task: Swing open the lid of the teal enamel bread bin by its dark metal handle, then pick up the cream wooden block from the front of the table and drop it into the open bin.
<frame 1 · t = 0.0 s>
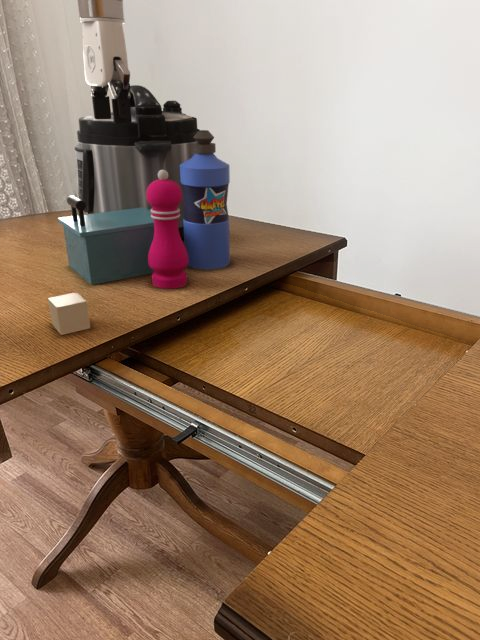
hand: (112, 121, 101), 26 cm above the table, tool pointing down, fingers open, 9 cm apart
block: (71, 326, 82), on the table
bread bin: (121, 267, 107), on the table
pressure cooker: (145, 232, 131), on the table
pepper mill: (169, 284, 100), on the table
water bottle: (207, 263, 111), on the table
bin lid: (113, 208, 101), point 12 cm above the table, hinge at 0.0°
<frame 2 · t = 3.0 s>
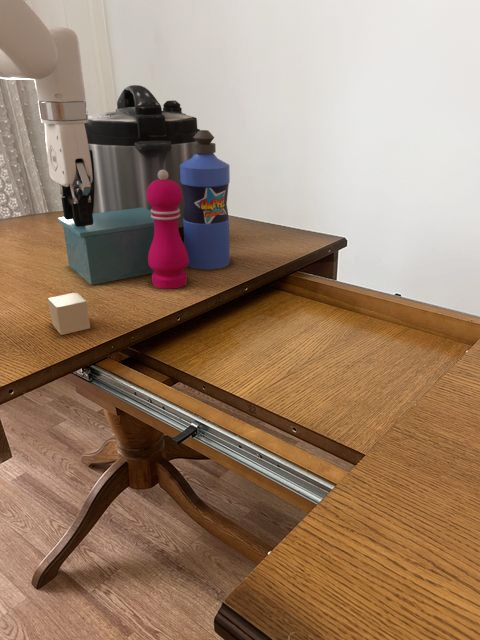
hand: (78, 220, 99), 10 cm above the table, tool pointing down, fingers closed on bin lid, 5 cm apart
bin lid: (113, 208, 101), point 12 cm above the table, hinge at 0.0°, touching gripper
everything else where it was.
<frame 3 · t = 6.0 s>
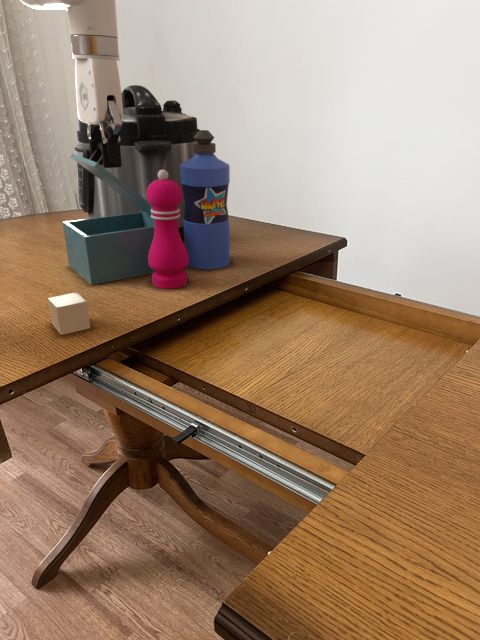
hand: (106, 164, 98), 20 cm above the table, tool pointing down, fingers closed on bin lid, 5 cm apart
bin lid: (128, 178, 101), point 17 cm above the table, hinge at 40.7°, touching gripper
everything else where it was.
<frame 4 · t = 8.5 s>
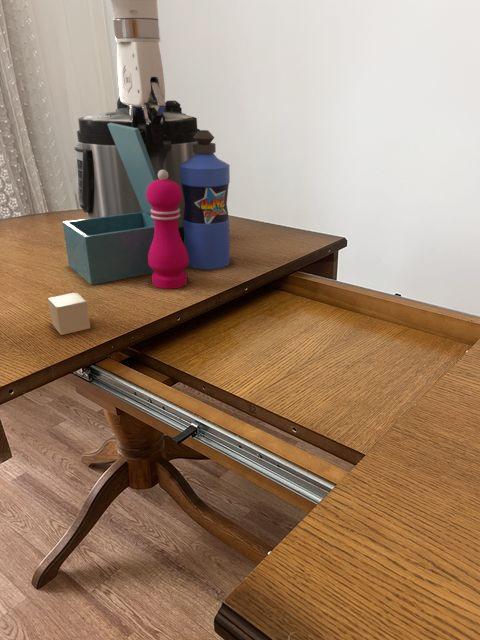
hand: (148, 145, 101), 22 cm above the table, tool pointing down, fingers closed on bin lid, 5 cm apart
bin lid: (150, 168, 103), point 18 cm above the table, hinge at 71.7°, touching gripper
everything else where it was.
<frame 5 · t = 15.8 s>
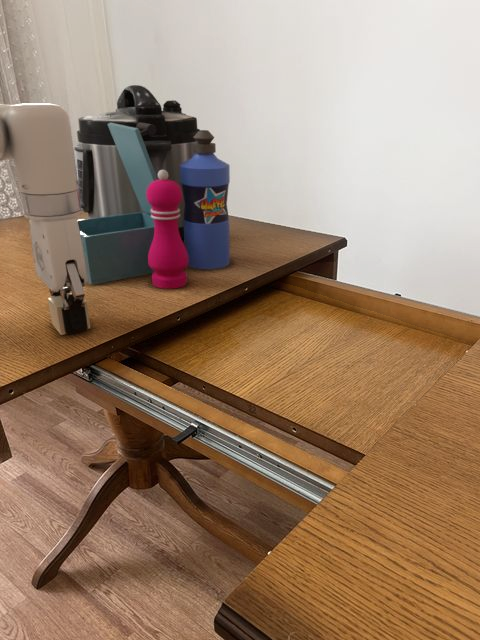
hand: (71, 324, 82), 0 cm above the table, tool pointing down, fingers closed on block, 4 cm apart
block: (71, 326, 82), on the table, touching gripper
bin lid: (150, 168, 103), point 18 cm above the table, hinge at 71.8°
everything else where it was.
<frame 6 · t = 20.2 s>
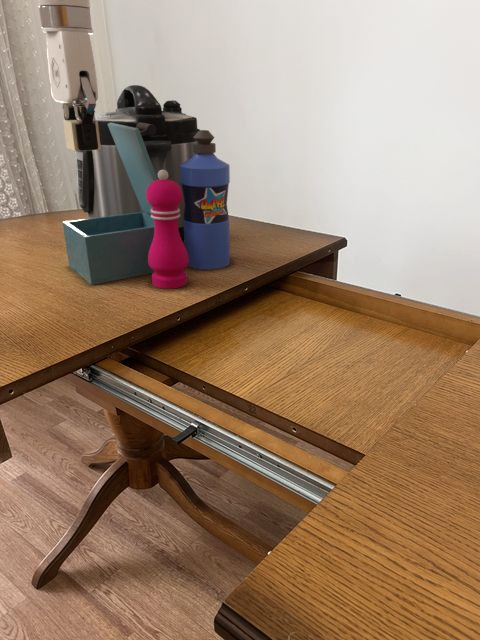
hand: (83, 146, 92), 23 cm above the table, tool pointing down, fingers closed on block, 4 cm apart
block: (83, 149, 92), point 23 cm above the table, touching gripper
everything else where it was.
when the fingers open (7 cm above the table, at t = 24.4 s): block drops 6 cm, resting on bread bin.
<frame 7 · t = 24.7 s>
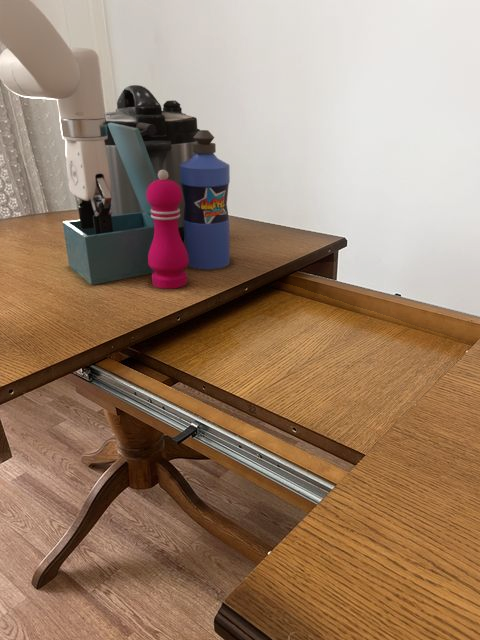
hand: (96, 231, 101), 8 cm above the table, tool pointing down, fingers open, 7 cm apart
block: (101, 267, 105), point 1 cm above the table, touching bread bin
everything else where it was.
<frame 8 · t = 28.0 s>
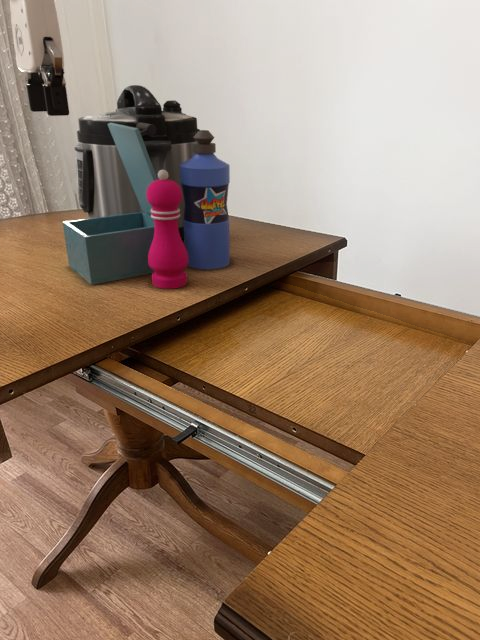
hand: (49, 113, 87), 28 cm above the table, tool pointing down, fingers open, 9 cm apart
nothing on the table moved.
at the end: bin lid at +72° (first picture: +0°); block inside the target area in the bread bin (4.0 cm from its centre), point 0.8 cm above the bread bin's base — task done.
